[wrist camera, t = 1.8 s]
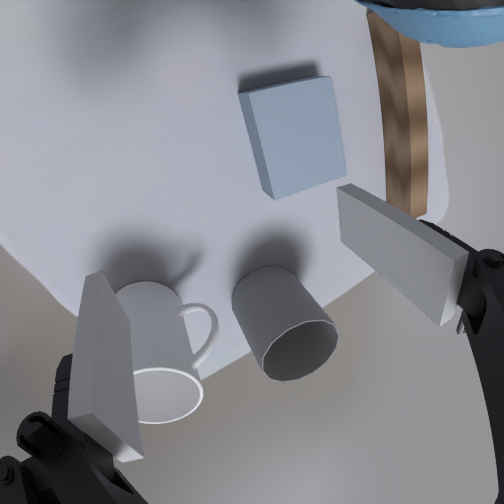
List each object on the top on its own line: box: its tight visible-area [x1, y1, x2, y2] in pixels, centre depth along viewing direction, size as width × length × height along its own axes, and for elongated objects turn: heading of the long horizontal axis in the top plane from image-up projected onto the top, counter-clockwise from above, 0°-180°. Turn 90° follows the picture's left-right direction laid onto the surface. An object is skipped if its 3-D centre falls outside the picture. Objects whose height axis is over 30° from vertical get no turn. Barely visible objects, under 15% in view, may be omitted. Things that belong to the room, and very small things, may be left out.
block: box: [238, 76, 347, 200], centre depth 28 cm, size 10×8×4 cm
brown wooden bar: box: [367, 12, 428, 218], centre depth 30 cm, size 24×3×4 cm, turn 12°
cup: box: [232, 266, 340, 382], centre depth 34 cm, size 8×8×10 cm
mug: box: [115, 281, 219, 424], centre depth 29 cm, size 12×8×12 cm
